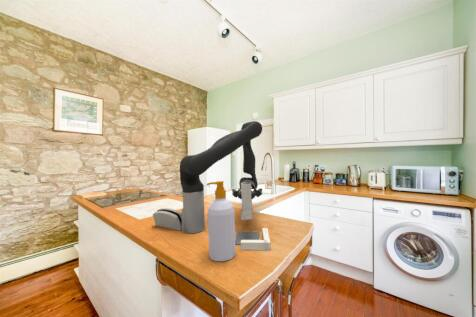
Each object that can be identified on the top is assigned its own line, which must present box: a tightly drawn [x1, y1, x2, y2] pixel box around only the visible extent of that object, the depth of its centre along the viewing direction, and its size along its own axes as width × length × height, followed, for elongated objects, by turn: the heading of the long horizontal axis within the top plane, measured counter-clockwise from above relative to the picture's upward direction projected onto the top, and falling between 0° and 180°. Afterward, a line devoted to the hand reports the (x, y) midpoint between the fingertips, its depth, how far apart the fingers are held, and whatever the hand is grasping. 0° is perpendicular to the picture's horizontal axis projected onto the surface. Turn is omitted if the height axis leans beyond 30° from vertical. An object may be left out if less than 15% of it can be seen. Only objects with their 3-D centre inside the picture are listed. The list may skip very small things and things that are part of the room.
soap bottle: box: [206, 180, 237, 262], centre depth 57 cm, size 9×9×24 cm
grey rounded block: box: [152, 207, 182, 232], centre depth 83 cm, size 17×5×10 cm, turn 64°
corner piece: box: [240, 227, 272, 251], centre depth 66 cm, size 10×12×2 cm
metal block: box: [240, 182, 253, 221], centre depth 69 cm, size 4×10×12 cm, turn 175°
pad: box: [235, 231, 260, 246], centre depth 69 cm, size 9×11×1 cm
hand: (246, 196), depth 69 cm, fingers closed on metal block, 4 cm apart
